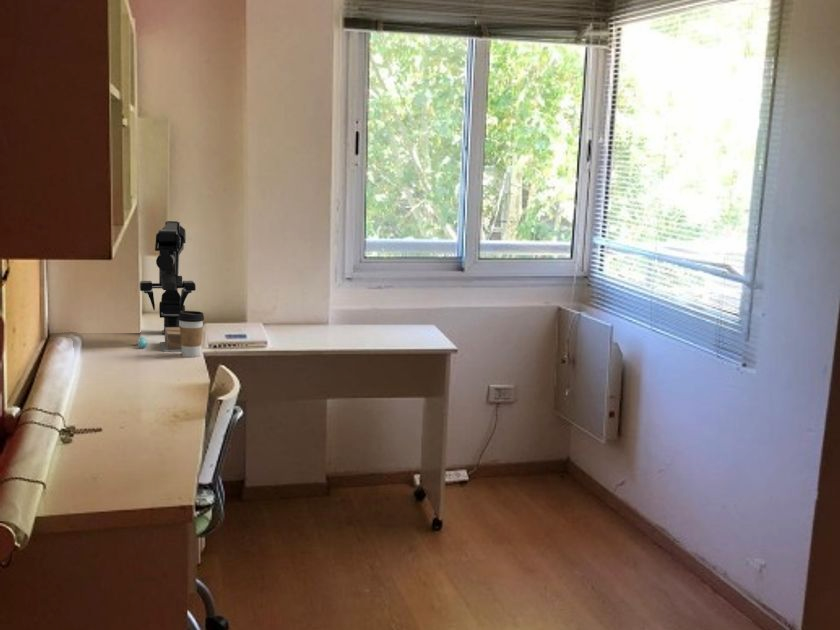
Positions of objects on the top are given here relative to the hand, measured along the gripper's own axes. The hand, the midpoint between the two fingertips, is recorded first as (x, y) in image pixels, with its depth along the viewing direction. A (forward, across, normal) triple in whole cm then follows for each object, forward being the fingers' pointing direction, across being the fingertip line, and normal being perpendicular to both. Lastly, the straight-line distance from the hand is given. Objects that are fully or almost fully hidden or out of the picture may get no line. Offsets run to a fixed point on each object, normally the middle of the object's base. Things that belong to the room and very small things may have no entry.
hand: (167, 309), depth 321 cm
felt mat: (+12, +2, -7) cm, 14 cm away
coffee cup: (+12, +6, -20) cm, 24 cm away
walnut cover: (+12, +2, -7) cm, 14 cm away
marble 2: (+12, -9, -7) cm, 17 cm away
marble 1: (+12, -9, -3) cm, 15 cm away
